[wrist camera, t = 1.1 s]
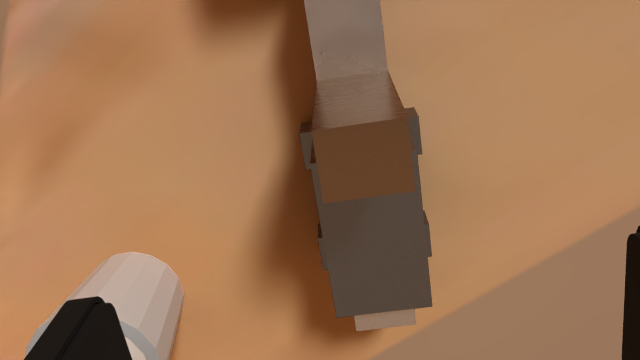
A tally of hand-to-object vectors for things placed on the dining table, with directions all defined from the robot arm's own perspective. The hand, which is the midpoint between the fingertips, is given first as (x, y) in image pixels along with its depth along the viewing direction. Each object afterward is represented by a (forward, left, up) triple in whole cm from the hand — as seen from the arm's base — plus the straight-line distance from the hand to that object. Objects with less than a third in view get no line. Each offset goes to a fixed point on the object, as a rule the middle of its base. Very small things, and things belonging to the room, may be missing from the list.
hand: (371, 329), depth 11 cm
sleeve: (0, +6, -21) cm, 22 cm away
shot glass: (+14, +11, -21) cm, 28 cm away
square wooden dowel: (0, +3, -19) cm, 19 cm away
